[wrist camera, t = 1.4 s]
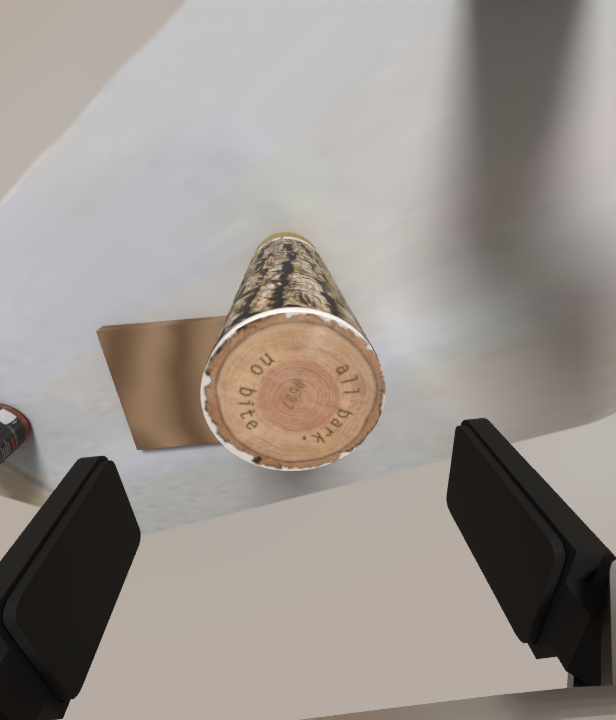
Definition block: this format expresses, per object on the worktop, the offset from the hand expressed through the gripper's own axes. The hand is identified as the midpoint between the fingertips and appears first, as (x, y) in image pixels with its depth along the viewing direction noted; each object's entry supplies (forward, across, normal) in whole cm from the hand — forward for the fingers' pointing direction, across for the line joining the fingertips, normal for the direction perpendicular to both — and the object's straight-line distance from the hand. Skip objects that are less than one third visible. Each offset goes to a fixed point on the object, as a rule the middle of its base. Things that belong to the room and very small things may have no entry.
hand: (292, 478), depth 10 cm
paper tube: (+29, 0, 0) cm, 29 cm away
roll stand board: (+29, +12, +12) cm, 33 cm away
